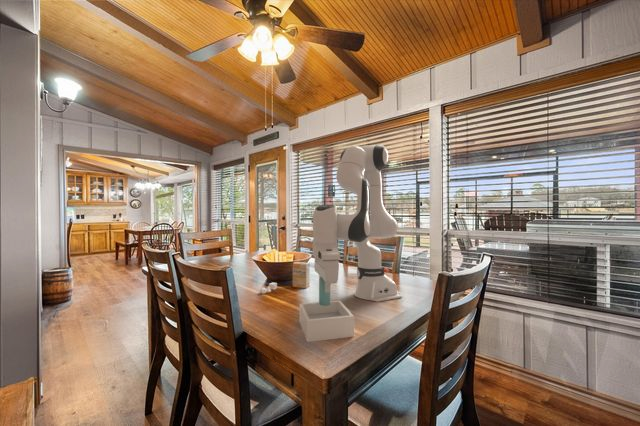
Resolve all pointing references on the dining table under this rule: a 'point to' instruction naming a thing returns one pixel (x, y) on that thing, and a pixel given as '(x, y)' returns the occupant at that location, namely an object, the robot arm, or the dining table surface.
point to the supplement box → (301, 274)
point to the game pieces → (268, 288)
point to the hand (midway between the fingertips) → (324, 289)
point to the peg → (323, 294)
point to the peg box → (326, 321)
